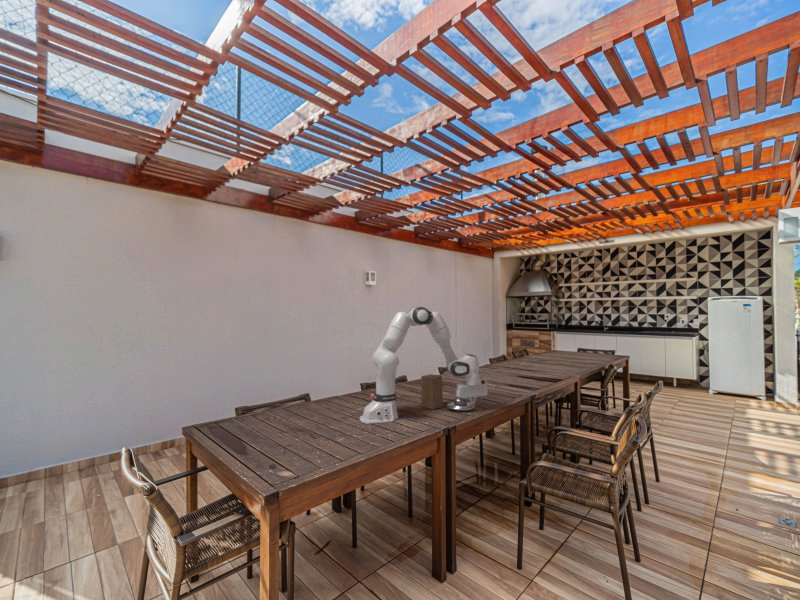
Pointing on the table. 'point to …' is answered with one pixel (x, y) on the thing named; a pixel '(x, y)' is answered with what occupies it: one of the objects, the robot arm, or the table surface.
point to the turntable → (468, 407)
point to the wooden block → (431, 391)
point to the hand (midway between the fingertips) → (472, 404)
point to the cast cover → (460, 401)
